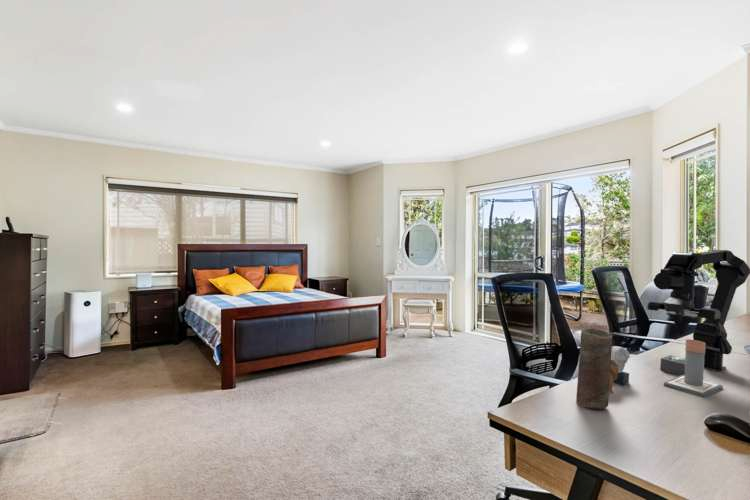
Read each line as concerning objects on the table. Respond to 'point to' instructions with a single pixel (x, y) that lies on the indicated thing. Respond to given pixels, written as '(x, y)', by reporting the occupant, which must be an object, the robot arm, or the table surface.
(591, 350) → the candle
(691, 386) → the board
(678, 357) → the button
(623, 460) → the table surface
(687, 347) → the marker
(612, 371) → the lion figurine
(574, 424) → the table surface
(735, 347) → the table surface
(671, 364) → the button housing
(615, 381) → the watch
